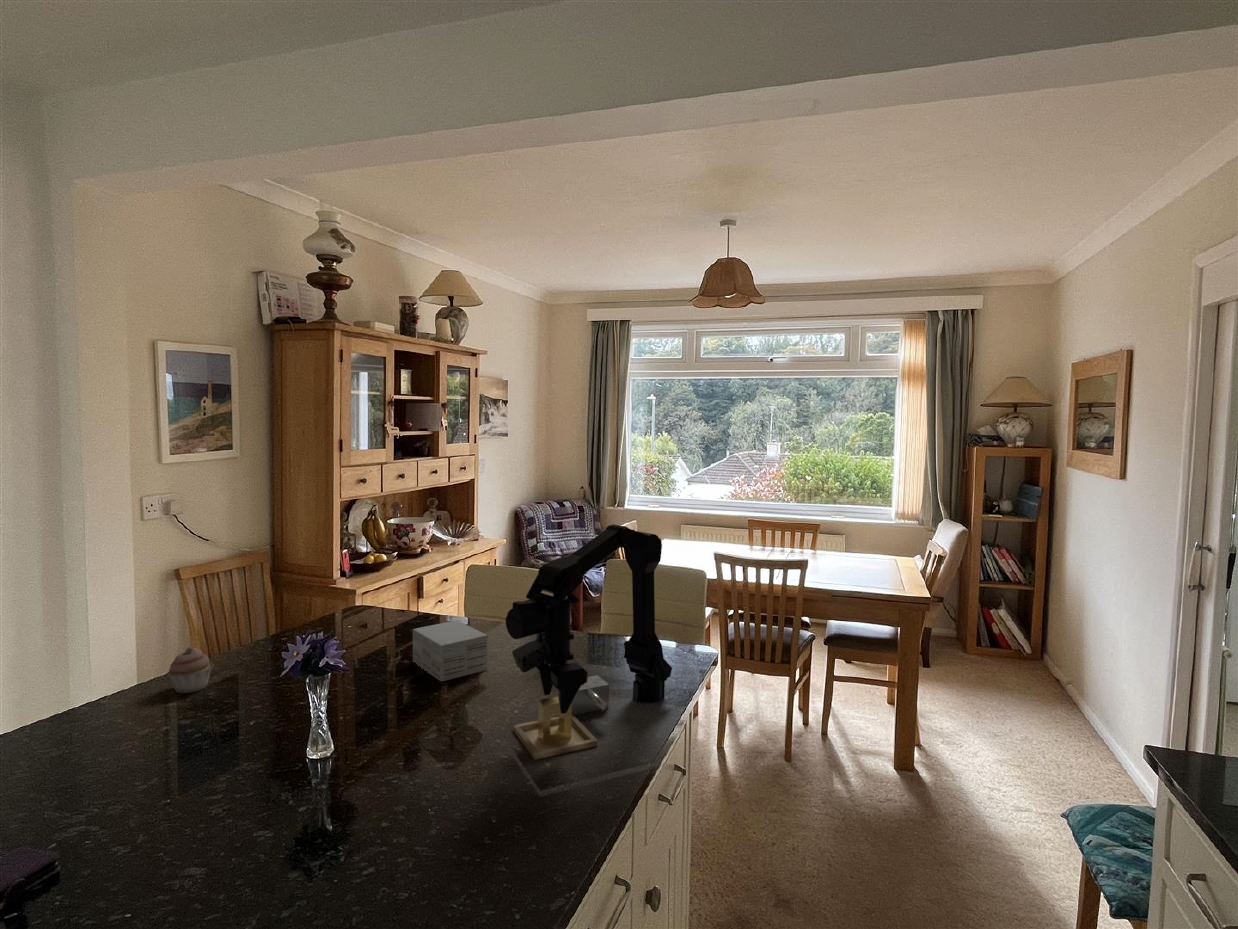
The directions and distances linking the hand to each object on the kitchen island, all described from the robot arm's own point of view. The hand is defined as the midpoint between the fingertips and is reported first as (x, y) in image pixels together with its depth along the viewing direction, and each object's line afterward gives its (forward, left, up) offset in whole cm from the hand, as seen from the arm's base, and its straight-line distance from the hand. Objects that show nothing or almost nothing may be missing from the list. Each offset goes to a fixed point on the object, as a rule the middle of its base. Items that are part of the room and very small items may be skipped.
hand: (555, 703), depth 133 cm
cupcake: (+68, -59, -8) cm, 90 cm away
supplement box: (+10, -49, -8) cm, 51 cm away
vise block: (-11, -7, -8) cm, 15 cm away
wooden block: (0, 0, -7) cm, 7 cm away
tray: (0, 0, -8) cm, 8 cm away
